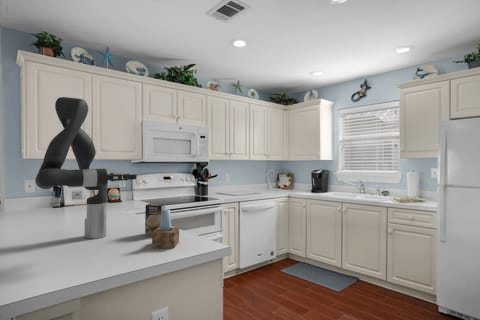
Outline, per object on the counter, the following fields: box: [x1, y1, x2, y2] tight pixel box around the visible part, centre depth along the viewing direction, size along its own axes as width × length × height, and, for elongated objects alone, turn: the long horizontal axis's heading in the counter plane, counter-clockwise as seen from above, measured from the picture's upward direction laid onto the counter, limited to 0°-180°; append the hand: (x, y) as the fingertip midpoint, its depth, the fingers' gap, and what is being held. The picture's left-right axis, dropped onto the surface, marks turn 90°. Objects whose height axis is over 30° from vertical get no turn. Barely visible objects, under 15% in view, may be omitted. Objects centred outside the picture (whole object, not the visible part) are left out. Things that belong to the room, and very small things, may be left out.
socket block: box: [151, 226, 180, 249], centre depth 131 cm, size 10×10×7 cm
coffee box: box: [144, 203, 166, 237], centre depth 150 cm, size 9×6×16 cm
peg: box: [161, 209, 171, 231], centre depth 131 cm, size 4×4×14 cm
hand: (133, 176), depth 129 cm, fingers open, 8 cm apart
